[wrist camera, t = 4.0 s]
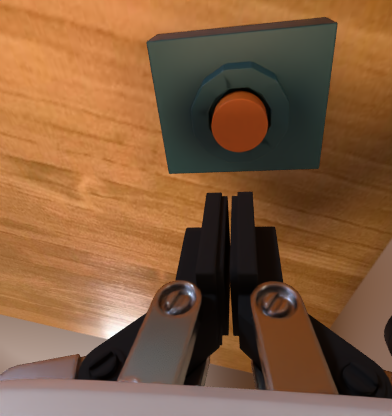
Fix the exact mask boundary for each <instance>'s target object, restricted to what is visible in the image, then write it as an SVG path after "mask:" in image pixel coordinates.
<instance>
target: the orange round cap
mask: <svg viewBox="0 0 392 416" xmlns="http://www.w3.org/2000/svg"><path fill="white" fill-rule="evenodd" d="M211 128H212V133H213V136H214V138H215V140H216V141H217V142H218V144H219V145H220V146H222V147H223V148H225V149H227V150H229V151H233V152H245V151H248V150H251V149H253V148H255V147H256V146H257V145H259V144H260V143H261V142H262V140H263V139H264V137H265V135H266V133H267V129H268V120H267V114H266V109H265V106H264V104H263V102H262V101H261V100H260V99H259V98H258V97H257V96H256V95H254V94H252V93H250V92H247V91H235V92H231V93H229V94H227V95H225V96H224V97H223V98H222V99H221V100H220V101H219V102H218V103H217V105H216V107H215V110H214V114H213V118H212V124H211Z"/></svg>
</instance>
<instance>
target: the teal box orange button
mask: <svg viewBox="0 0 392 416" xmlns="http://www.w3.org/2000/svg"><path fill="white" fill-rule="evenodd" d="M336 32H337V22H334V21H332V20H330V19H328V18H326V17H324V18H314V19H305V20H295V21H285V22H275V23H266V24H256V25H246V26H236V27H226V28H217V29H207V30H197V31H187V32H178V33H168V34H158V35H156V36H154V37H153V38H152V39H150V40H149V41H147V48H148V54H149V60H150V66H151V72H152V77H153V83H154V89H155V95H156V101H157V107H158V112H159V118H160V124H161V130H162V136H163V142H164V147H165V153H166V159H167V165H168V171H169V174H177V173H207V172H237V171H266V170H296V169H318V168H319V163H320V155H321V148H322V140H323V132H324V124H325V117H326V109H327V101H328V94H329V86H330V78H331V70H332V63H333V55H334V47H335V40H336ZM235 91H247V92H250V93H252V94H254V95H256V96H257V97H258V98H259V99H260V100H261V101H262V102H263V104H264V106H265V109H266V114H267V120H268V129H267V133H266V135H265V137H264V139H263V140H262V142H261V143H260V144H259V145H257V146H256V147H255V148H253V149H251V150H248V151H245V152H233V151H229V150H227V149H225V148H223V147H222V146H220V145H219V144H218V142H217V141H216V140H215V138H214V136H213V133H212V128H211V124H212V118H213V114H214V110H215V107H216V105H217V103H218V102H219V101H220V100H221V99H222V98H223V97H224V96H225V95H227V94H229V93H231V92H235Z"/></svg>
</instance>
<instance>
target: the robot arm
mask: <svg viewBox="0 0 392 416" xmlns="http://www.w3.org/2000/svg"><path fill="white" fill-rule="evenodd" d="M230 288H231V304H232V320H233V335H234V336H239V342H240V349H241V350H242V351H243V352H244V353H245V354H246V355H247V356H248V357H249V358H250V359H251V366H252V371H253V376H254V381H255V387H256V390H254V389H238V388H221V387H205V386H204V385H205V381H206V377H207V372H208V368H209V364H210V355H211V354H212V353H213V352H215V351H216V350H217V349H218V348H219V347H220V345H222V335H228V333H229V299H230ZM0 416H392V372H389V371H386V370H383V369H382V368H381V367H380V366H379V365H377V364H376V363H375V362H374V361H373V360H371V359H370V358H368V357H367V356H366V355H364V354H363V353H362V352H360V351H359V350H358V349H356V348H355V347H353V346H352V345H351V344H349V343H348V342H346V341H345V340H344V339H342V338H341V337H339V336H338V335H337V334H335V333H334V332H333V331H331V330H330V329H328V328H327V327H326V326H324V325H323V324H322V323H320V322H319V321H317V320H316V319H315V318H313V317H312V316H311V315H309V314H308V313H307V310H306V308H305V305H304V303H303V300H302V298H301V296H300V294H299V293H298V291H297V290H295V289H294V288H293V287H292V286H290V285H288V284H286V283H283V278H282V271H281V264H280V257H279V250H278V243H277V236H276V229H275V227H255V223H254V207H253V192H238V196H232V210H231V243H230V232H229V214H228V198H227V196H222V193H207V195H206V201H205V208H204V215H203V222H202V228H187V229H186V231H185V236H184V241H183V246H182V251H181V256H180V260H179V265H178V270H177V275H176V280H175V281H172V282H169V283H167V284H165V285H163V286H162V287H161V288H160V289H159V290H158V291H157V293H156V294H155V296H154V298H153V300H152V303H151V305H150V307H149V309H148V312H147V313H146V314H144V315H143V316H141V317H140V318H138V319H137V320H136V321H134V322H133V323H131V324H130V325H128V326H127V327H125V328H124V329H122V330H121V331H120V332H118V333H117V334H115V335H114V336H112V337H111V338H109V339H108V340H107V341H105V342H104V343H102V344H101V345H99V346H98V347H96V348H95V349H94V350H92V351H91V352H90V353H89V354H88V355H87V356H84V357H80V355H79V354H76V355H70V356H65V357H60V358H54V359H49V360H43V361H38V362H33V363H27V364H22V365H17V366H14V367H11V368H9V369H8V370H6V371H4V372H3V373H2V374H0Z"/></svg>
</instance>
